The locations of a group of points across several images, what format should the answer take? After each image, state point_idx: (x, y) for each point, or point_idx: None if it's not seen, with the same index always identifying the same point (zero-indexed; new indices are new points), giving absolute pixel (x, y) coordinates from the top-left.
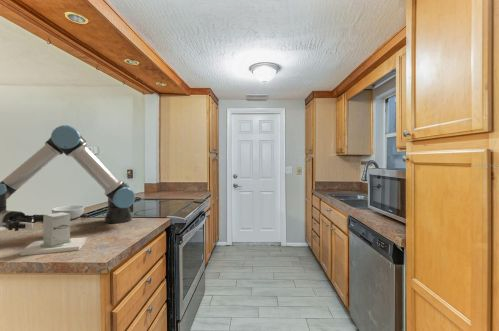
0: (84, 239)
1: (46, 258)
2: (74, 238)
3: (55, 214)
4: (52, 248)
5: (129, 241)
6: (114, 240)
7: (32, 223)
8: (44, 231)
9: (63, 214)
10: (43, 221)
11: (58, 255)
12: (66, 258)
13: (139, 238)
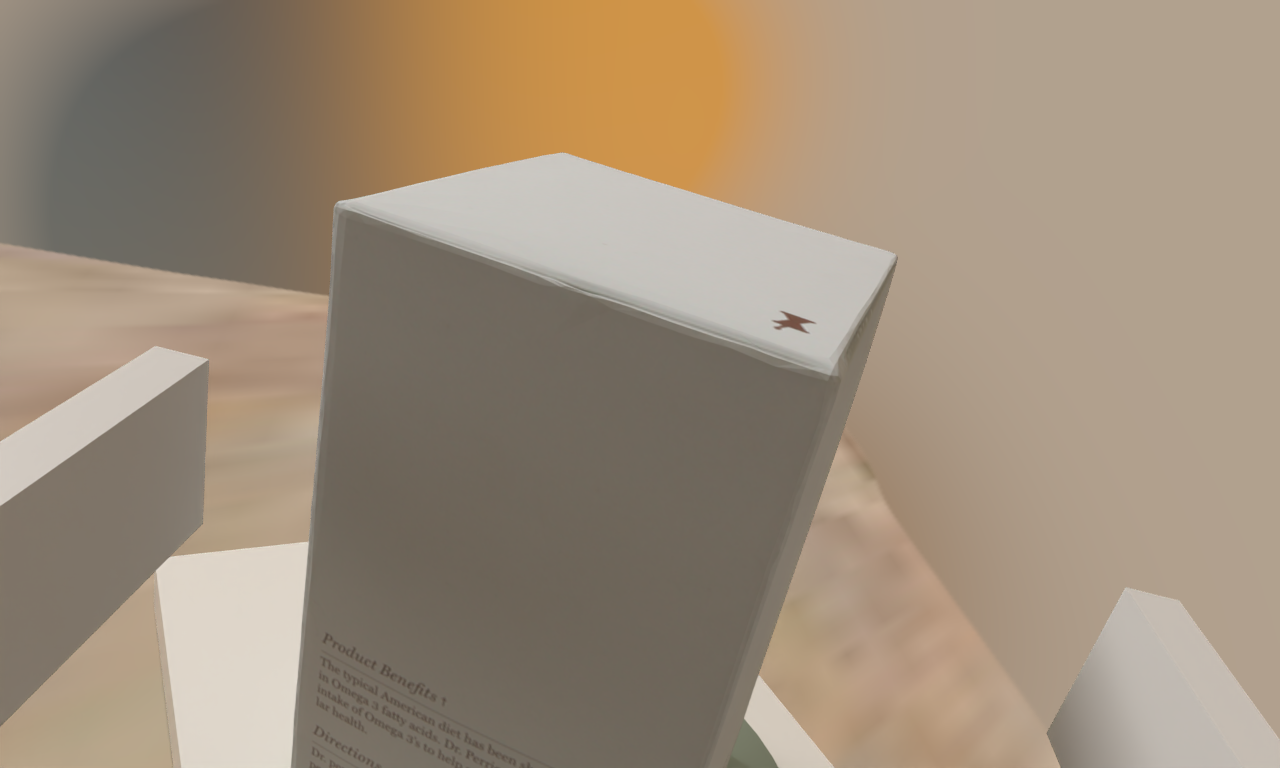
0: (305, 542)
1: (940, 702)
2: (199, 679)
3: (723, 233)
4: (771, 717)
5: (317, 318)
6: (250, 387)
7: (1154, 596)
8: (719, 752)
9: (658, 185)
10: (778, 566)
11: (819, 642)
12: (850, 553)
13: (222, 281)
